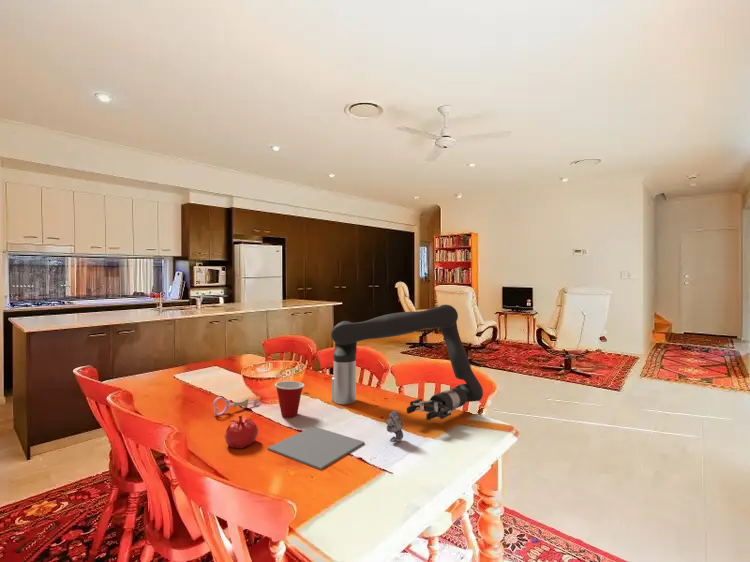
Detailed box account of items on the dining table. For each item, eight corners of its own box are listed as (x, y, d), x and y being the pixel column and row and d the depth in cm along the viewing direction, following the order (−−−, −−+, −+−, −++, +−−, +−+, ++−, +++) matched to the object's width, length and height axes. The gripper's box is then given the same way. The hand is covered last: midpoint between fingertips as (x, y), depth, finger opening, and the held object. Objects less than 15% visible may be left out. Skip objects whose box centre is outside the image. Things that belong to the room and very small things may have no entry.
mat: (267, 449, 121) (267, 447, 121) (313, 427, 138) (313, 426, 138) (320, 469, 109) (320, 467, 109) (364, 443, 125) (364, 441, 125)
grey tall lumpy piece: (398, 446, 123) (398, 414, 123) (383, 442, 126) (383, 411, 126) (406, 440, 128) (406, 409, 127) (391, 436, 130) (391, 406, 130)
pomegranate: (264, 441, 128) (264, 412, 128) (242, 453, 119) (242, 422, 119) (240, 435, 132) (240, 407, 132) (217, 447, 123) (217, 417, 123)
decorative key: (260, 411, 162) (212, 416, 148) (258, 410, 163) (211, 415, 149) (262, 394, 163) (215, 398, 148) (261, 394, 164) (213, 397, 149)
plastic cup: (309, 416, 148) (308, 384, 148) (280, 422, 143) (280, 389, 142) (298, 408, 158) (298, 378, 157) (271, 413, 152) (271, 382, 152)
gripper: (429, 388, 151) (401, 397, 139) (461, 396, 141) (434, 407, 129) (429, 407, 151) (401, 419, 139) (461, 417, 141) (434, 430, 129)
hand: (417, 413), depth 134 cm, fingers open, 8 cm apart
